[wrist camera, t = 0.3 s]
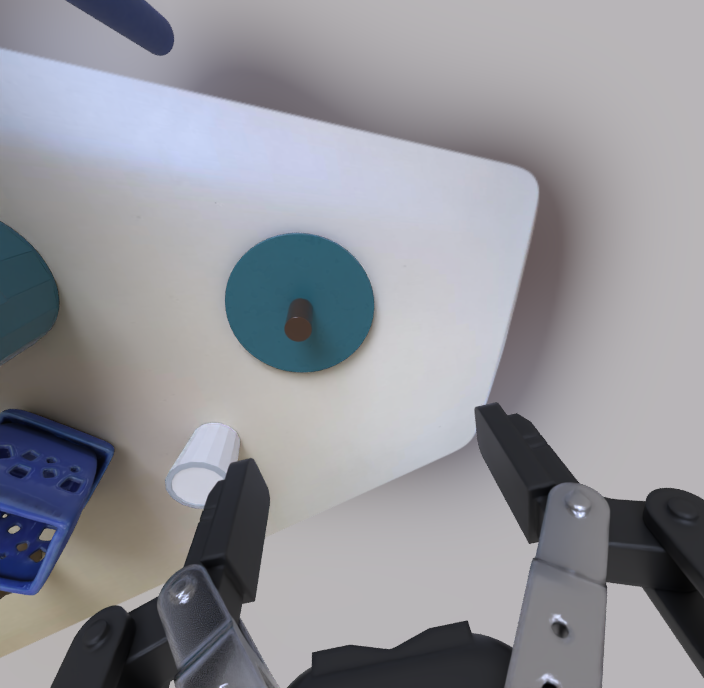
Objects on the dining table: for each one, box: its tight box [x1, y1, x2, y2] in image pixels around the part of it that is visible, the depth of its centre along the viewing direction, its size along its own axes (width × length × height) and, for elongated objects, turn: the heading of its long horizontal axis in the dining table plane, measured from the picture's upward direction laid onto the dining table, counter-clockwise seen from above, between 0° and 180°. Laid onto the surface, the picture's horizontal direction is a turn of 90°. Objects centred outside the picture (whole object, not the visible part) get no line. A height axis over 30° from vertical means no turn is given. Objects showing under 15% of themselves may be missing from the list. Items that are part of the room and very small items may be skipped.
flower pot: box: [0, 409, 114, 595], centre depth 38 cm, size 13×13×12 cm
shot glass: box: [165, 423, 240, 509], centre depth 41 cm, size 7×7×7 cm
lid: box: [225, 233, 374, 372], centre depth 34 cm, size 15×15×6 cm
